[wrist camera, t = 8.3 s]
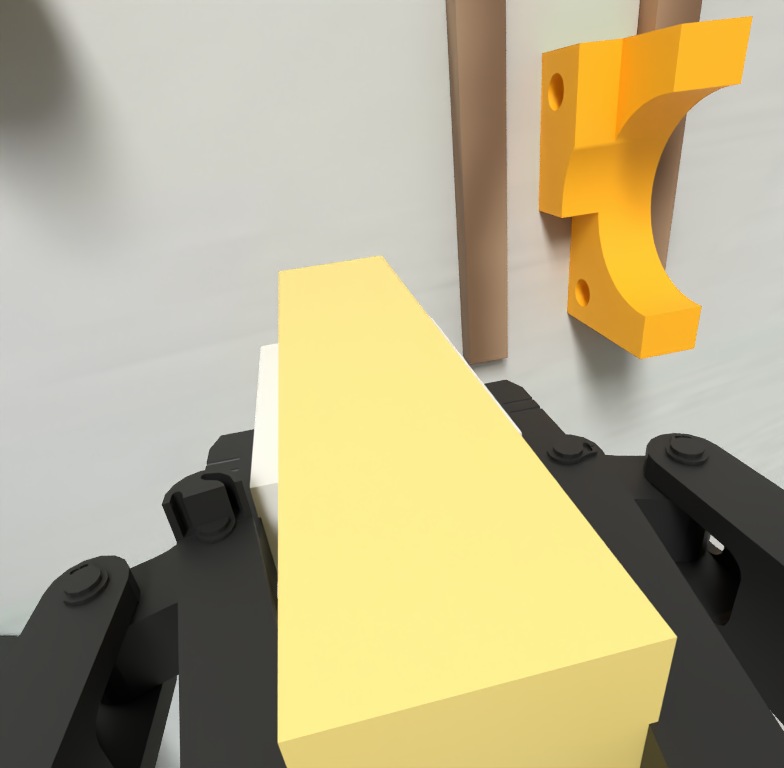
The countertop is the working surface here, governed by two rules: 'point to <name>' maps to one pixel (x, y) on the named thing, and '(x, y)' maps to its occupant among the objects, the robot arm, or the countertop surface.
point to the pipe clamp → (626, 168)
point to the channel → (489, 166)
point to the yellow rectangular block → (436, 559)
